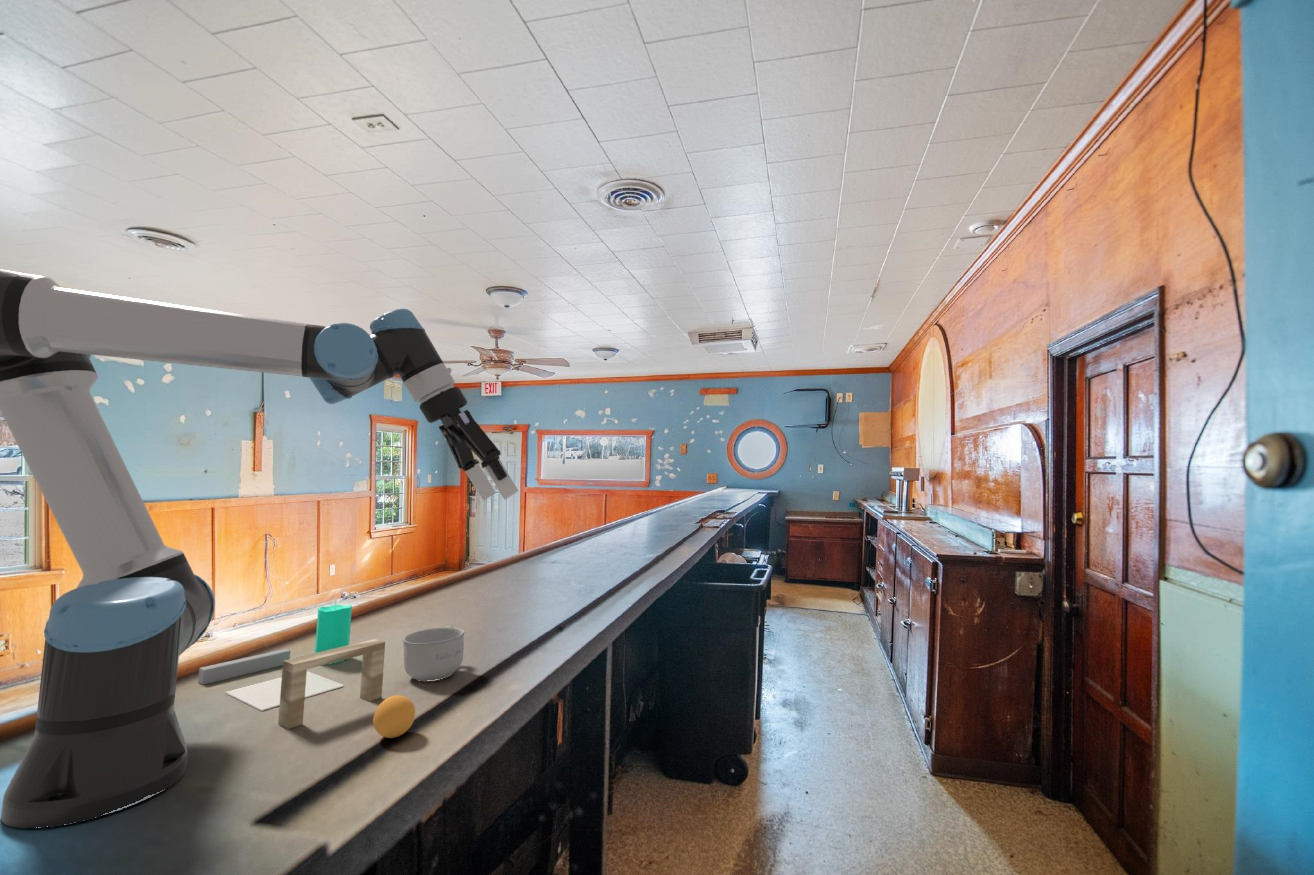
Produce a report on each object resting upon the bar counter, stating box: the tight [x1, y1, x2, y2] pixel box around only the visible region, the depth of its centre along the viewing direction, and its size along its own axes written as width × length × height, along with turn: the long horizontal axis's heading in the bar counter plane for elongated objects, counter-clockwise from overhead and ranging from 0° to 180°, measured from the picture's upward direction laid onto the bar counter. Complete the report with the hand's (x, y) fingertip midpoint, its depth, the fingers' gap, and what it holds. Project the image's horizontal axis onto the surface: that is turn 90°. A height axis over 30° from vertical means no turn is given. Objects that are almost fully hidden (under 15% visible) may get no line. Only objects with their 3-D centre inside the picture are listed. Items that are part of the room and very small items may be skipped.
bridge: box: [277, 638, 386, 730], centre depth 88 cm, size 3×14×9 cm, turn 149°
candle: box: [314, 599, 353, 665], centre depth 112 cm, size 6×6×12 cm
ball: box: [372, 694, 416, 739], centre depth 79 cm, size 6×6×6 cm
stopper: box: [197, 648, 291, 685], centre depth 103 cm, size 14×2×2 cm, turn 149°
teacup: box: [402, 625, 465, 682], centre depth 105 cm, size 14×11×8 cm
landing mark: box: [224, 670, 345, 712], centre depth 95 cm, size 13×13×1 cm
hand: (500, 496), depth 101 cm, fingers open, 13 cm apart
